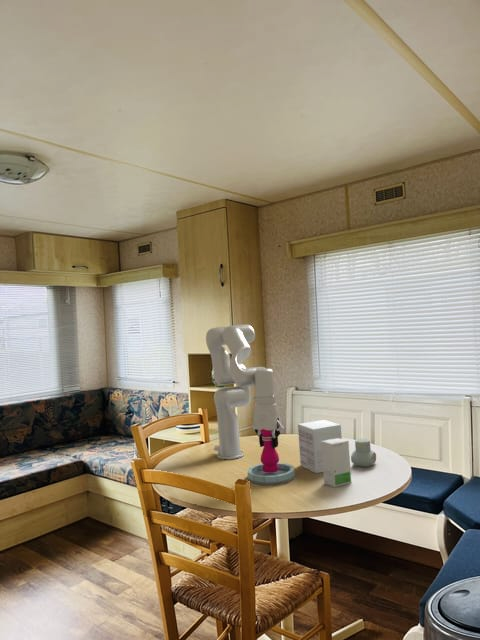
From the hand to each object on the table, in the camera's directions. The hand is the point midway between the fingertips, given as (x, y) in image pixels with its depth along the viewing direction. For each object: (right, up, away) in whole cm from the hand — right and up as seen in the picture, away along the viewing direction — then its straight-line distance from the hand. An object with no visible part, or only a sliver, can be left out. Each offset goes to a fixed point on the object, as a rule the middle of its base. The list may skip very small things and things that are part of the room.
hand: (268, 446), depth 188 cm
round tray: (+1, -12, 0) cm, 12 cm away
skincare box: (+24, -11, -12) cm, 29 cm away
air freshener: (+39, -10, +7) cm, 41 cm away
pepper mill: (+1, -10, 0) cm, 10 cm away
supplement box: (+22, -11, +9) cm, 26 cm away
